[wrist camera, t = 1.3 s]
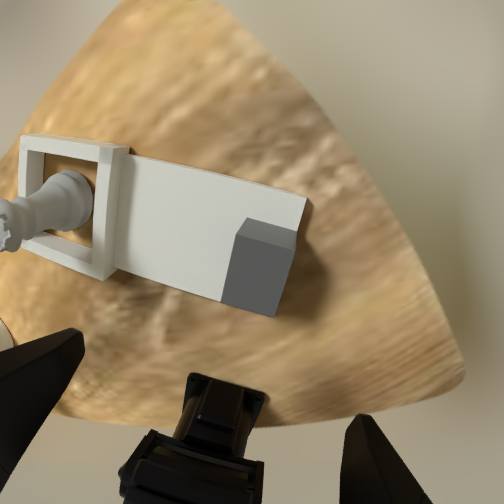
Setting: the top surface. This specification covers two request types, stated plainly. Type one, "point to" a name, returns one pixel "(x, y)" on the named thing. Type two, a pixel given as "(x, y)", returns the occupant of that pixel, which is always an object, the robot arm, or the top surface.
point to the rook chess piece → (46, 209)
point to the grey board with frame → (173, 224)
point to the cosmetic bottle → (5, 337)
